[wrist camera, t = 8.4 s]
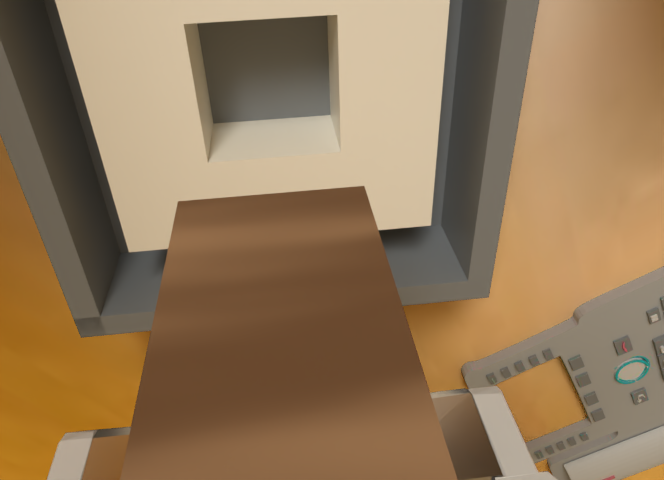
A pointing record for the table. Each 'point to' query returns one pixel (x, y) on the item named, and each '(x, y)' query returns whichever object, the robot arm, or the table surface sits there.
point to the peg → (282, 350)
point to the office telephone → (599, 382)
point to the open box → (260, 129)
